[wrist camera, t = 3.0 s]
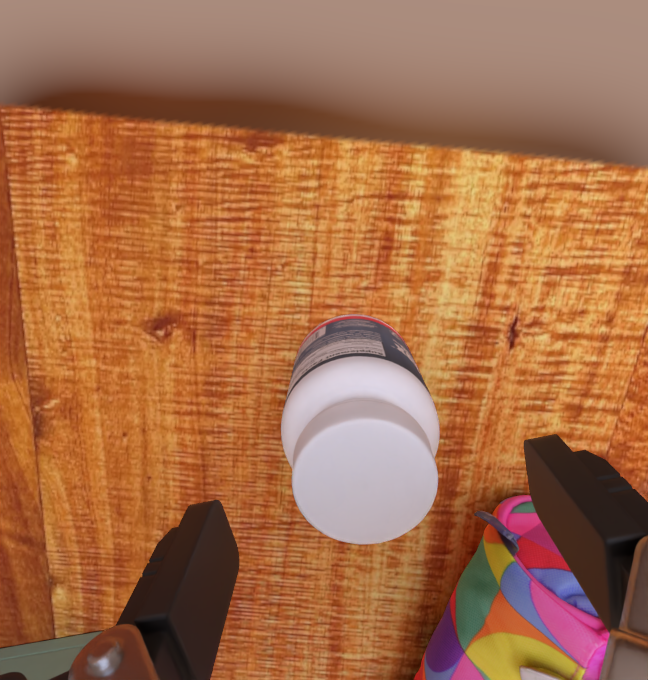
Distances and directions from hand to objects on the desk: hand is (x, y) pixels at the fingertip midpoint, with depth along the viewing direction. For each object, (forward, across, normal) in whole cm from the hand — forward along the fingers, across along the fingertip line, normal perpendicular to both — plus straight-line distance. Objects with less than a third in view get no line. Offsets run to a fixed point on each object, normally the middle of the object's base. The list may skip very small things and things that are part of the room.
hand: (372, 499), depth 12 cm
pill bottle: (+10, 0, 0) cm, 10 cm away
